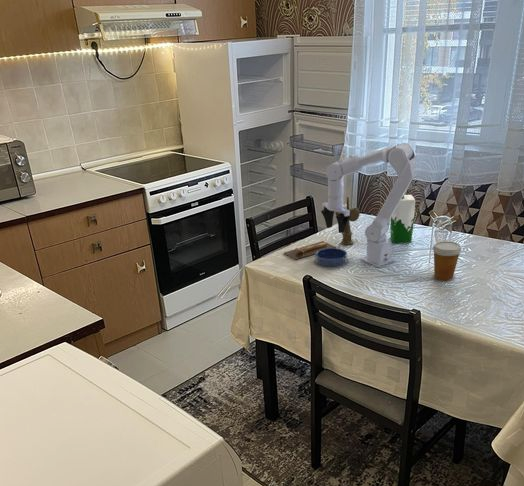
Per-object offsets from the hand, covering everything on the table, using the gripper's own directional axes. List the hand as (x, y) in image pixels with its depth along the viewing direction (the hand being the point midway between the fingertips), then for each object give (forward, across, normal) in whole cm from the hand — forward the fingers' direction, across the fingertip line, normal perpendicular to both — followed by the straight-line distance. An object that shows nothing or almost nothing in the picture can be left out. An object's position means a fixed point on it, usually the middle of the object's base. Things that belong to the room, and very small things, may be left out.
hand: (335, 229), depth 213 cm
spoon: (+11, +9, +6) cm, 16 cm away
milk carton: (+11, -5, -31) cm, 33 cm away
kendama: (+11, +6, -11) cm, 16 cm away
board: (+10, +9, +6) cm, 15 cm away
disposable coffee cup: (+11, -42, -16) cm, 46 cm away
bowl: (+10, -5, +6) cm, 13 cm away
